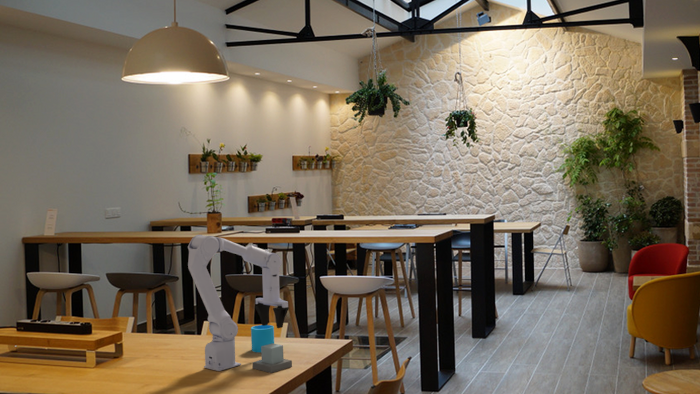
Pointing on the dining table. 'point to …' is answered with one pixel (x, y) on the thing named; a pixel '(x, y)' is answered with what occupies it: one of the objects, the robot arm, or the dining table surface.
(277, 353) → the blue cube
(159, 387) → the dining table surface
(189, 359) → the dining table surface
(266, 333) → the mug
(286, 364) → the slate base
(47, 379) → the dining table surface
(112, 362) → the dining table surface
